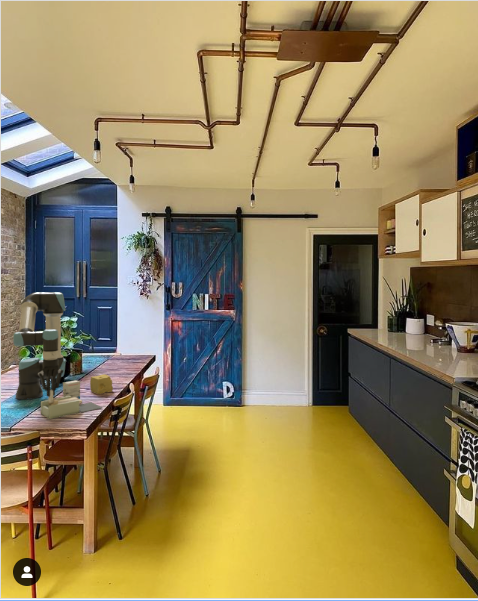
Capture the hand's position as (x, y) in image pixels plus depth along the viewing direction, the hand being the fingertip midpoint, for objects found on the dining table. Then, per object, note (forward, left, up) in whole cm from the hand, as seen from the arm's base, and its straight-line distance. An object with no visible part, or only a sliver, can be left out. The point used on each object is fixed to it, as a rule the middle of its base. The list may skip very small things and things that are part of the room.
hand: (50, 401), depth 223 cm
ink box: (-18, +19, -8) cm, 27 cm away
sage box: (0, +5, -7) cm, 9 cm away
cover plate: (0, +8, -2) cm, 8 cm away
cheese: (-26, +42, -8) cm, 50 cm away
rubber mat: (0, +20, -7) cm, 21 cm away
